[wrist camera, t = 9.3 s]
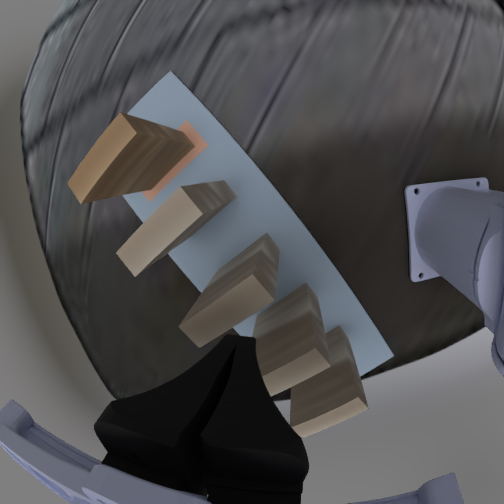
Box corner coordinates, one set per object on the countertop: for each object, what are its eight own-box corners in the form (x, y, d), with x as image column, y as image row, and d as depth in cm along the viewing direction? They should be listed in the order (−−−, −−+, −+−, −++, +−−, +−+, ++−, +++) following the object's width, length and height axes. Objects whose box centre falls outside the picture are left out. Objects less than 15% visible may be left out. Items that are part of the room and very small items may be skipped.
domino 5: (348, 336, 22) (368, 408, 14) (301, 364, 23) (302, 437, 15) (339, 324, 22) (358, 397, 13) (291, 353, 23) (289, 428, 15)
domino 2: (237, 196, 20) (203, 214, 12) (189, 237, 21) (135, 276, 13) (224, 180, 20) (180, 186, 11) (177, 221, 21) (116, 252, 13)
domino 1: (195, 146, 19) (136, 133, 11) (151, 189, 20) (80, 204, 12) (183, 131, 19) (120, 112, 11) (140, 175, 20) (67, 183, 12)
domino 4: (317, 296, 21) (331, 366, 13) (268, 328, 23) (257, 402, 14) (306, 282, 21) (315, 347, 13) (256, 315, 22) (240, 387, 14)
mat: (392, 353, 22) (393, 356, 22) (308, 400, 25) (308, 403, 25) (172, 72, 18) (170, 70, 17) (96, 154, 20) (93, 154, 20)
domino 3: (279, 248, 20) (274, 300, 12) (230, 285, 22) (199, 348, 14) (266, 232, 20) (252, 273, 12) (217, 270, 22) (178, 326, 13)
